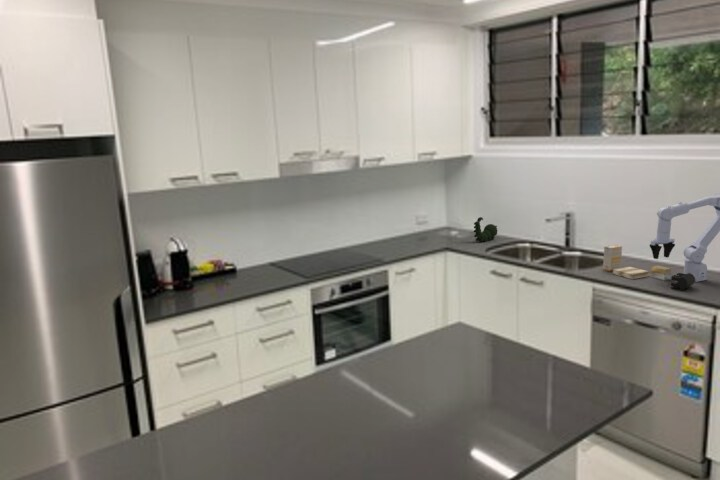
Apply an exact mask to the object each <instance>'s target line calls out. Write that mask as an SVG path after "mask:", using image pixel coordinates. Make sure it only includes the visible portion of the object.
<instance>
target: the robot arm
mask: <svg viewBox="0 0 720 480" xmlns="http://www.w3.org/2000/svg"><path fill="white" fill-rule="evenodd" d="M706 206H712V207H713V208H714V209H715V213H716V215H715V217H714V218H713V219H712V221H711V222H710V223H709V225H707V227H706V228H705V229H704V231H703V232H702V234H700V235H699V237H698V239H697V240H696V241H694V242H692V243H691V244H690V245H689V246H688V247H686V248H685V249H684V250H683V256H684V257H685V258H684V265H683V274H688V273H691V274H692V275H693V276H694V277H695V282H696V283H697V282H702V281H707V280H708V278H707V273H708V266H707V264H705V263H704V262H702V261H703V260H704V259H705V255H706V253H707V251H708V246H709V245H710V244H711V243H712V241H713V240H714V239H715V238H716V236H717V235H718V234H719V232H720V193H716V194H711V195H708V196H706V197H702V198H700V199H697V200H694V201H690V202H688V203H687V202H685V201H683V202H682V201H679V202H678V203H676V204H673V205H668V206H667V207H665V206H663V207H661V208H659V210H658V211H657V212H656V215H657V217H658V222H657V229H656V238H654V240H651V241H650V243H649V248H650V249H651V252H652V257H653V259H655V260H659V256H660V252H661V249H662V247H663V257H664V258H666V259H667V258H669V257H670V255H671V253H672V250H673V248H675V246H676V244H675V238H670V237H671V229H672V228H671V227H672V220H673V219H674V218H677V217H678V216H682V215H685V214H688V213H689V212H690V211H691V210H694V209H697V208H701V207H706ZM661 245H662V246H661Z"/></svg>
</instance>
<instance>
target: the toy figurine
mask: <svg viewBox="0 0 720 480" xmlns="http://www.w3.org/2000/svg"><path fill="white" fill-rule="evenodd" d="M481 221H484V218H483V217H481V216H480V217H478V218H477V220H476V221H475V222H473V225H474V226H473V229H474V230H473V232H474V233H475V234H474V235H473V237H474V238H475V241H478V242H485V243H488V242H489V241H491V240H494V239H495V236H497V235H498V228H497V227H498V225H495V224H492V223H490V224H486V225H485V226H484V227H483V231H482V228H481V227H482V226H481V223H480V222H481Z"/></svg>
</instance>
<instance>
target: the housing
mask: <svg viewBox="0 0 720 480" xmlns="http://www.w3.org/2000/svg"><path fill="white" fill-rule="evenodd" d="M671 273H672V268H669V267H667V266H662V265H654V266H651V272H650V278H654V279H657V280H660V281H667V280H671V277H672V274H671Z"/></svg>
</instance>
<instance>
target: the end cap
mask: <svg viewBox="0 0 720 480" xmlns="http://www.w3.org/2000/svg"><path fill="white" fill-rule="evenodd" d="M670 280H671V281H674V282H670V289H671V290H677V291H682V290H686V289H687V288H689V287H691V286H692V285H694V284H695V282H696V281H695V277H694V276H693V275H692V274H691V273H688V274H684V273H680V272H678V273H676V274H674V275H671V278H670Z"/></svg>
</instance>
